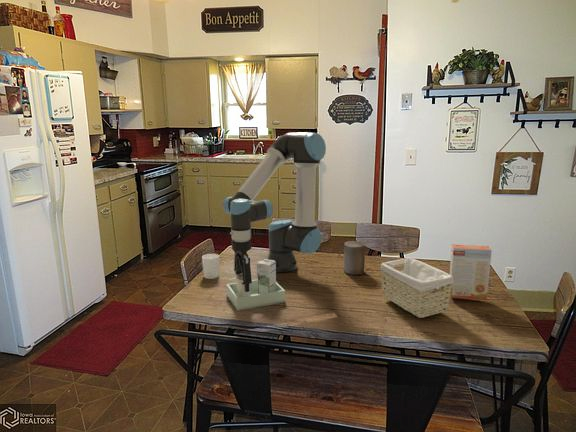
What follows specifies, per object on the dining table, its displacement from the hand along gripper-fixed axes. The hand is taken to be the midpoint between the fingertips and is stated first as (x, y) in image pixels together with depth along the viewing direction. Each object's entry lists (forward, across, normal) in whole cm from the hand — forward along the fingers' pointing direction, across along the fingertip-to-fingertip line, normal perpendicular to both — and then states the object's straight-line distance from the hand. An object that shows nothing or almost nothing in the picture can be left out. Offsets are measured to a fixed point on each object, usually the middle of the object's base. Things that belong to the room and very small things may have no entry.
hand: (243, 294), depth 163 cm
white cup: (+3, -32, -6) cm, 32 cm away
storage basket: (+3, +29, +60) cm, 67 cm away
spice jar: (+2, 0, 0) cm, 2 cm away
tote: (+3, 0, +5) cm, 6 cm away
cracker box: (+3, +32, +85) cm, 91 cm away
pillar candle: (+3, -12, +58) cm, 59 cm away
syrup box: (+2, 0, +10) cm, 10 cm away
